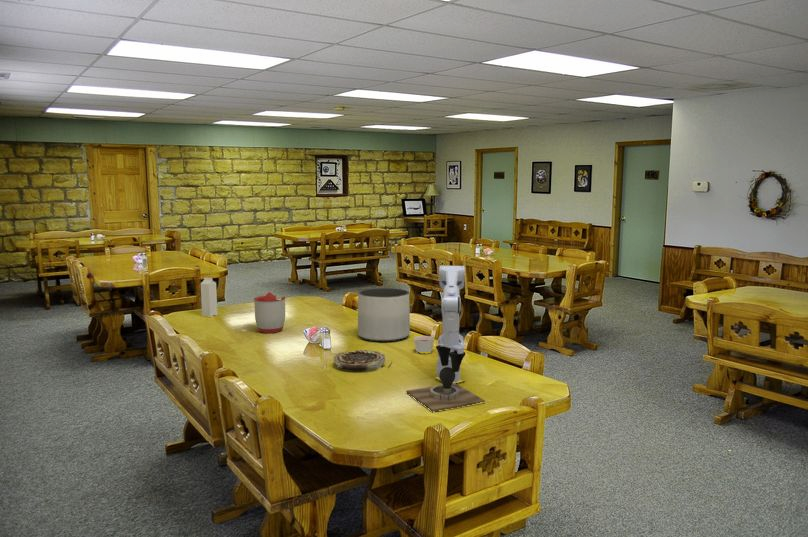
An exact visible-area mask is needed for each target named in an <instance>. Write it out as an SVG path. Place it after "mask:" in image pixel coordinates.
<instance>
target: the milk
mask: <svg viewBox="0 0 808 537" xmlns="http://www.w3.org/2000/svg"><path fill="white" fill-rule="evenodd" d="M217 294H218V293H217V282H215V281H214V280H213V277H206V276H204V277H203V280H202V281H201V282H200V299H201V300H200V301H201V303H200V304H201V316H202V315H205V316H213V315H217V316H218V296H217Z"/></svg>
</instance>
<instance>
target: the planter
mask: <svg viewBox="0 0 808 537" xmlns="http://www.w3.org/2000/svg"><path fill="white" fill-rule="evenodd" d="M357 293H358V294H357V300H358V301H357V307H358V308H357V334H358V336H359V337H360V338H361V339H363V340H365V341H368V340H369V341H370V342H374V341H393V342H395V341H394V340H399V341H401V340H400V339H402V340H404V339H403V338H405V339H406V338H408V337H409V336H410V334H411V324H410V323H411V321H410V319H411V316H410V315H411V314H410V312H411V311H410V309H411V308H410V291H409V290H406V289H401V288H394V287H375V288H374V287H373V288H365V289H362V290H360V291H358V292H357ZM407 336H408V337H407ZM369 341H368V342H369Z"/></svg>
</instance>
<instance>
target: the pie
mask: <svg viewBox="0 0 808 537" xmlns="http://www.w3.org/2000/svg"><path fill="white" fill-rule="evenodd" d="M385 360H389V359H388V358H386V355H385V354H384V353H382V352H380V351H376V350H375V351H374V350H368V349H359V350H358V349H357V350H350V351H349V350H348V351H345V352H339V353H337V354H335V356H333V362H334V363H335V365H336V368H337V369H339V370H342V371H343V370H344V371H347V372H355V373H356V372H359V373H362V372H363V373H364V372H371V371H377V370H376V369H379V368H380V367H381V366H382V365H383V366H384V363H385V362H386V361H385ZM381 368H382V367H381ZM381 368H380V369H381ZM380 369H379V370H380ZM370 370H371V371H370Z"/></svg>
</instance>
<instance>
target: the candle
mask: <svg viewBox="0 0 808 537" xmlns="http://www.w3.org/2000/svg"><path fill="white" fill-rule="evenodd" d="M413 341H414V348H415V352H416V351H417V352H430V351H432V352H433V347H434V342H435V337H433V336H430V335H418V336H414V337H413ZM417 352H416V353H417Z"/></svg>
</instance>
